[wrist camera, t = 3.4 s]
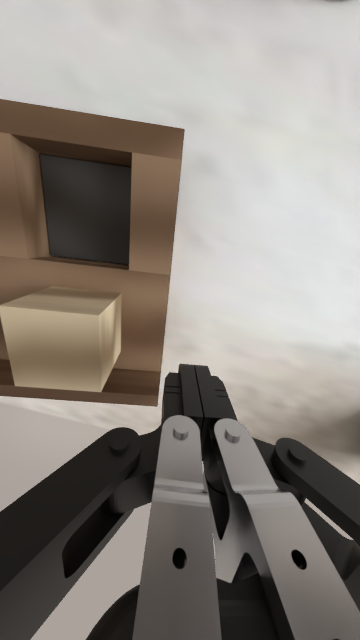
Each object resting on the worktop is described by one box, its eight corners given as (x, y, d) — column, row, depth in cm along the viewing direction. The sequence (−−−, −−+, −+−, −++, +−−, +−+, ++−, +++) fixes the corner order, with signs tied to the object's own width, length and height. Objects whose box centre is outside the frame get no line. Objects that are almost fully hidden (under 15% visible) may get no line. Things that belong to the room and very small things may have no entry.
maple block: (52, 285, 15) (-2, 305, 10) (121, 293, 15) (98, 315, 11) (59, 345, 17) (14, 386, 12) (120, 351, 17) (100, 392, 12)
